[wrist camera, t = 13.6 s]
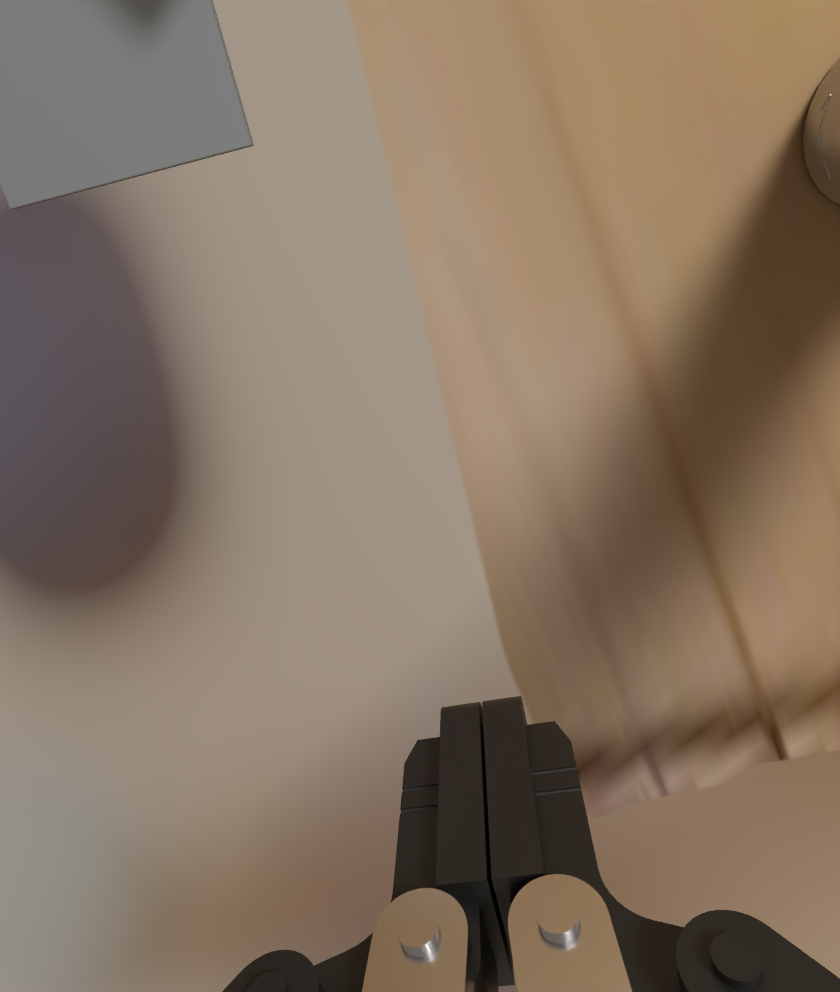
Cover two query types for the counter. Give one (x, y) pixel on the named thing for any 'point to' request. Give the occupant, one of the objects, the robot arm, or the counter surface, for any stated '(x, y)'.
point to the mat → (110, 93)
